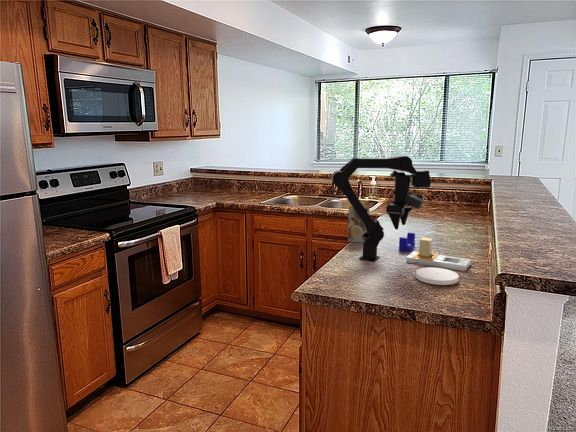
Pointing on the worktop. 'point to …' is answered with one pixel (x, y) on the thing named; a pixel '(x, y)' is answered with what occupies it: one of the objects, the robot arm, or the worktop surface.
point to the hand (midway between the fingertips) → (400, 227)
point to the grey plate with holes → (440, 261)
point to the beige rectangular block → (425, 247)
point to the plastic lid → (437, 276)
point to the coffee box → (355, 225)
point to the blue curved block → (407, 242)
